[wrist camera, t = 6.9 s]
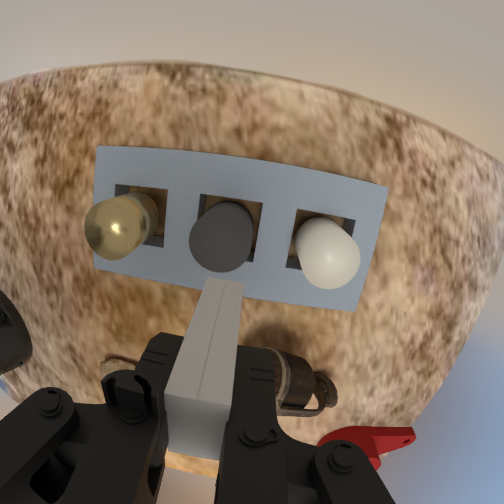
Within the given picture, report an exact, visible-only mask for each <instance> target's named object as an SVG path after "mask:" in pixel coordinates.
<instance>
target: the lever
mask: <svg viewBox="0 0 504 504" xmlns="http://www.w3.org/2000/svg"><path fill="white" fill-rule="evenodd" d="M341 439H342V440H346V441H350V442H352V443H354V444H356V445H358V446H359V447H360V448H361V449H362V450H363V451H364V452H365V453H366V455H367V457H368V458H369V460H370V462H371V463H372V465H373V467H374V468H375V470H378V468H379V467H380V465H381V461H380V458H379V455H380V454H383V453H386V452H390V451H393V450H396V449H399V448H402V447H405V446H407V445H409V444H411V443H412V442H413V441H415V439H416V435H415V433H414V431H413V428H412V427H369V426H350V427H345V428H341V429H338V430H335V431H333V432H331V433H329V434H327V435H325V436H324V437H323V438H322V439H321V440H320V441H319V442H318V444H317V447H320V446H321V445H322V444H324V443H326V442H328V441H331V440H341Z"/></svg>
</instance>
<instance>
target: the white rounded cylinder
mask: <svg viewBox="0 0 504 504" xmlns="http://www.w3.org/2000/svg"><path fill="white" fill-rule="evenodd" d="M294 244H295V249H296V252H297V255H298V258H299V261H300V264H301V267H302V271H303V273H304V275H305V277H306V278H307V280H308V281H309V282H310V283H311V284H313V285H314V286H316V287H319V288H322V289H335V288H339V287H341V286H343V285H345V284H347V283H348V282H349V281H350V280H351V279H352V278H353V277H354V276H355V274H356V273H357V271H358V268H359V265H360V259H361V257H360V250H359V247H358V245H357V244H356V242H355V241H354V240H353V239H352V238H351V237H350V236H349V235H348V234H347V233H346V232H345V231H344V230H343V229H342V228H341V227H340V226H339V225H338V224H337V223H336V222H334V221H333V220H331V219H329V218H326V217H314V218H311V219H308V220H307V221H305V222H304V223H303V224H302V225H301V226H300V227H299V228H298V230H297V232H296V235H295V240H294Z"/></svg>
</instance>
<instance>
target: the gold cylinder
mask: <svg viewBox="0 0 504 504" xmlns="http://www.w3.org/2000/svg"><path fill="white" fill-rule="evenodd" d="M158 224H159V212H158V208H157V206H156V204H155V202H154V201H153V200H152V199H151V198H150V197H149V196H148V195H146V194H144V193H141V192H130V193H127V194H123V195H120V196H117V197H114V198H111V199H108V200H105V201H102V202H99V203H97V204H95V205H94V206H93V207H92V208H91V209H90V210H89V212H88V214H87V216H86V220H85V235H86V238H87V241H88V243H89V245H90V247H91V248H92V250H93V251H94V252H95V253H96V254H97V255H99V256H100V257H102V258H104V259H107V260H112V261H114V260H120V259H122V258H124V257H125V256H127V255H128V254H129V253H130V252H132V251H133V250H134V249H136V248H137V247H138V246H139V245H141V244H142V243H143V242H145V241H146V240H147V239H149V238H150V237H151V236H152V235H153V234H154V233H155V232H156V230H157V228H158Z"/></svg>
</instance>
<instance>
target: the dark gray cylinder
mask: <svg viewBox="0 0 504 504" xmlns="http://www.w3.org/2000/svg"><path fill="white" fill-rule="evenodd" d="M253 231H254V223H253V219H252V216H251V214H250V213H249V211H248V210H247V209H246V208H245V207H244V206H242V205H241V204H239V203H236V202H232V201H223V202H219V203H217V204H215V205H213V206H212V207H211V208H210V209H209V210H208V211H207V212H206V213H205V214H204V215H202V216H201V217H200V218H199V219H198V220H197V221H196V223H195V224H194V225H193V227H192V229H191V231H190V234H189V248H190V251H191V254H192V256H193V257H194V259H195V260H196V261H197V262H198V264H200V265H201V266H202V267H204V268H205V269H207V270H210V271H212V272H218V273H225V272H230V271H233V270H235V269H237V268H239V267H240V266H241V265H242V264H243V263H244V262H245V261H246V260H247V258H248V256H249V254H250V250H251V245H252V238H253Z"/></svg>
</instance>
